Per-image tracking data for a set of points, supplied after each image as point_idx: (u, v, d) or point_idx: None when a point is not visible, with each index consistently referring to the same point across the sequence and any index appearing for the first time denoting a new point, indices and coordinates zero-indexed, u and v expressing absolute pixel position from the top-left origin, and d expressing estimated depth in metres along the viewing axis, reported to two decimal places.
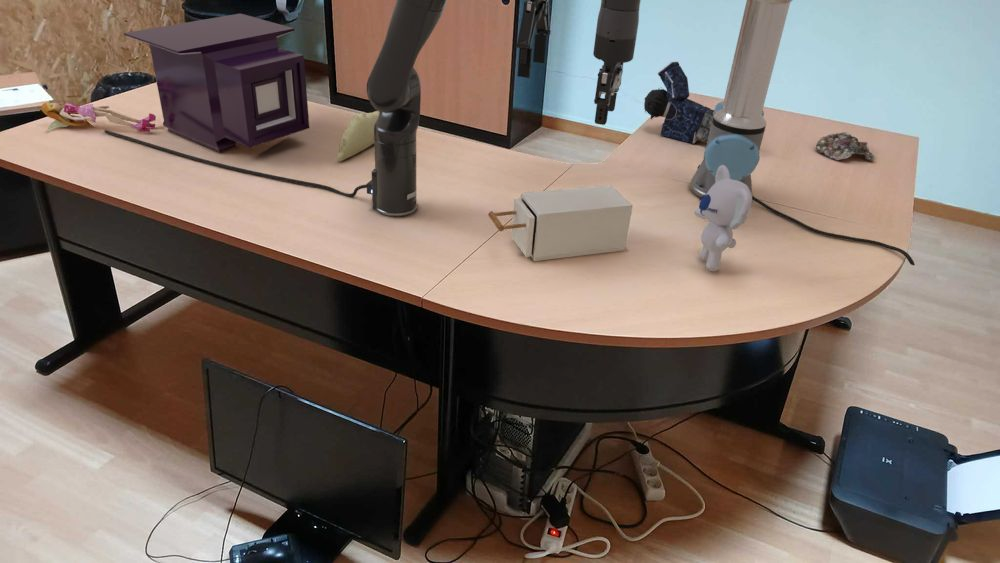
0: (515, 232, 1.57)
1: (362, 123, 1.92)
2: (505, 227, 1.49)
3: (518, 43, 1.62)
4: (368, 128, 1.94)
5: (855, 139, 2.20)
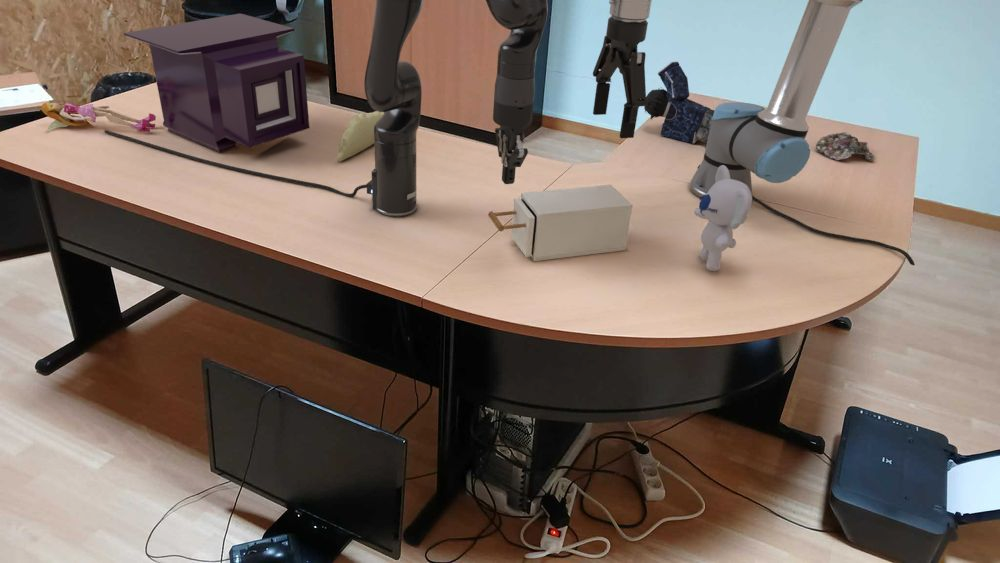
0: (515, 232, 1.57)
1: (362, 123, 1.92)
2: (505, 227, 1.49)
3: (636, 102, 1.38)
4: (368, 128, 1.94)
5: (855, 139, 2.20)
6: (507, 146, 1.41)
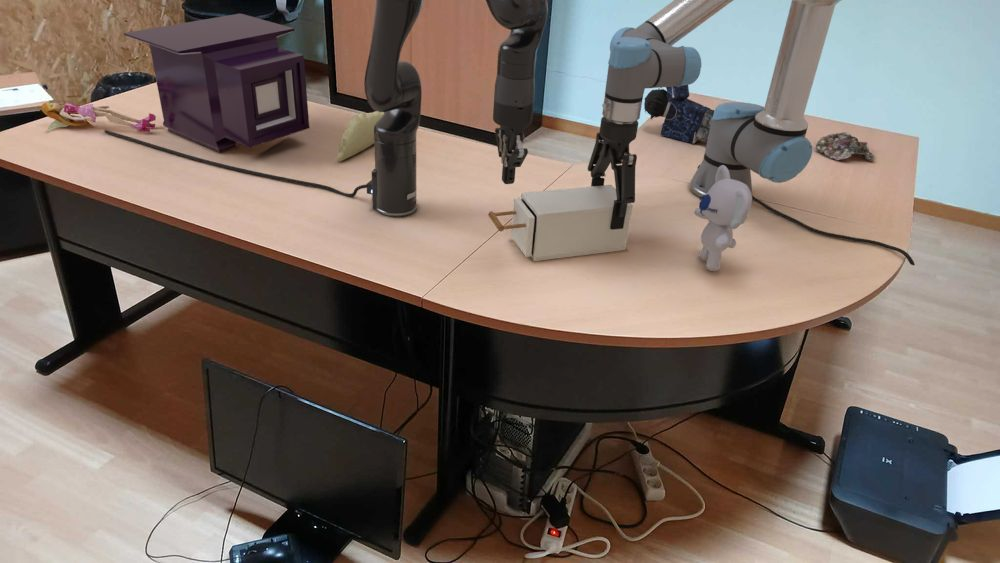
0: (515, 232, 1.57)
1: (362, 123, 1.92)
2: (505, 227, 1.49)
3: (625, 201, 1.48)
4: (368, 128, 1.94)
5: (855, 139, 2.20)
6: (507, 146, 1.41)
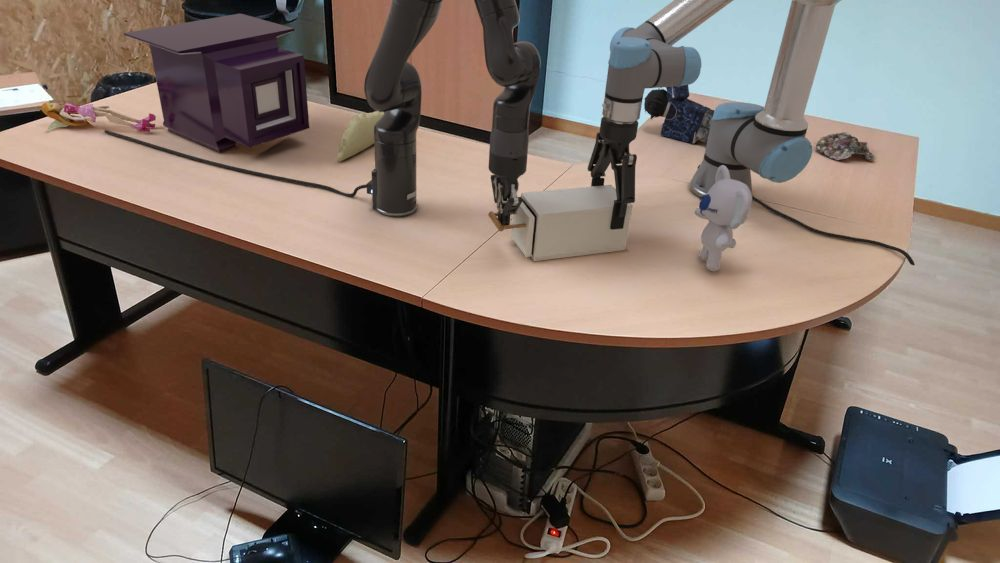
0: (515, 232, 1.57)
1: (362, 123, 1.92)
2: (505, 227, 1.49)
3: (625, 201, 1.48)
4: (368, 128, 1.94)
5: (855, 139, 2.20)
6: (502, 194, 1.46)
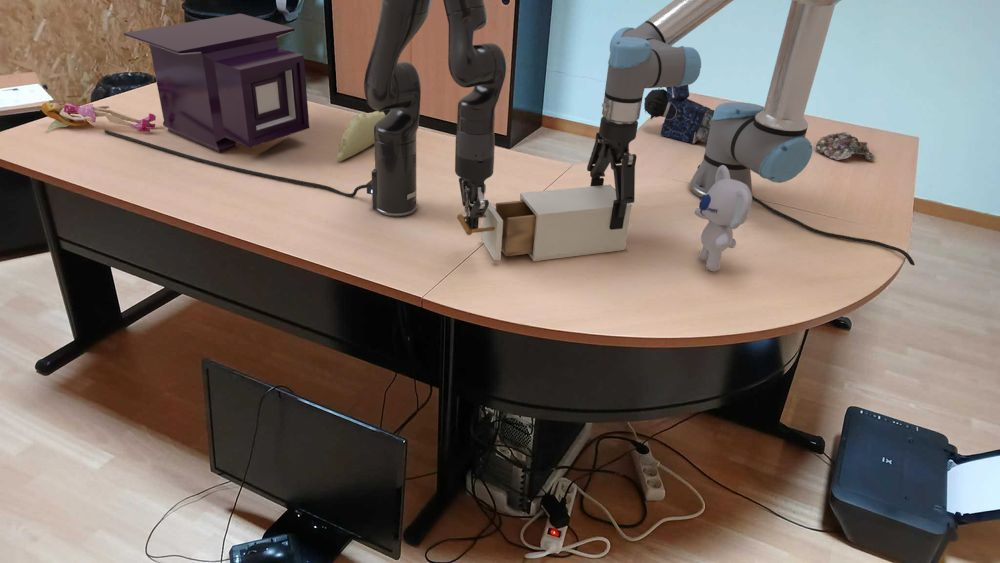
0: (484, 235, 1.55)
1: (362, 123, 1.92)
2: (473, 231, 1.46)
3: (625, 201, 1.48)
4: (368, 128, 1.94)
5: (855, 139, 2.20)
6: (469, 197, 1.44)
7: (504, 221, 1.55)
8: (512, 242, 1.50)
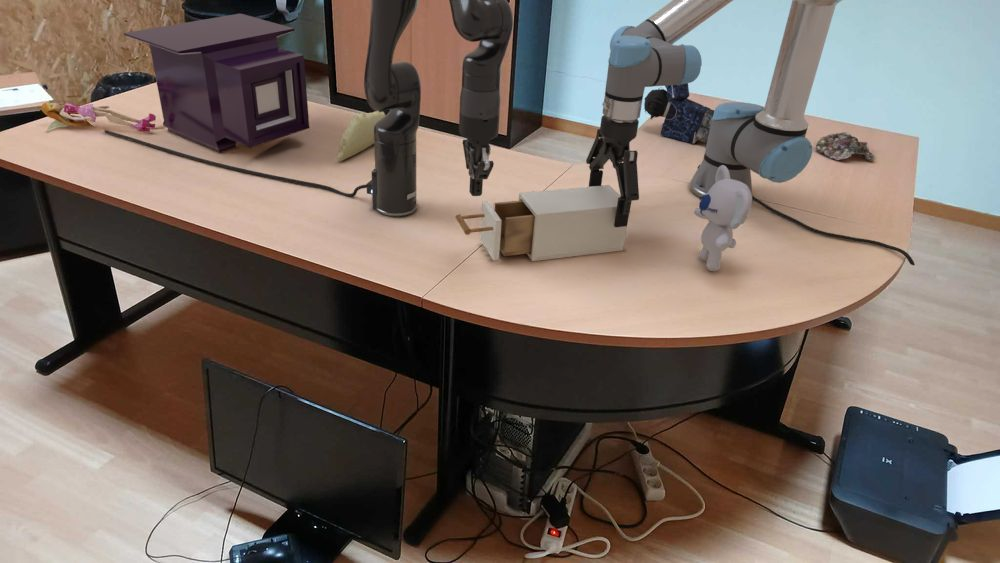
0: (483, 235, 1.55)
1: (362, 123, 1.92)
2: (472, 230, 1.46)
3: (629, 197, 1.46)
4: (368, 128, 1.94)
5: (855, 139, 2.20)
6: (474, 158, 1.40)
7: (503, 221, 1.55)
8: (511, 242, 1.50)
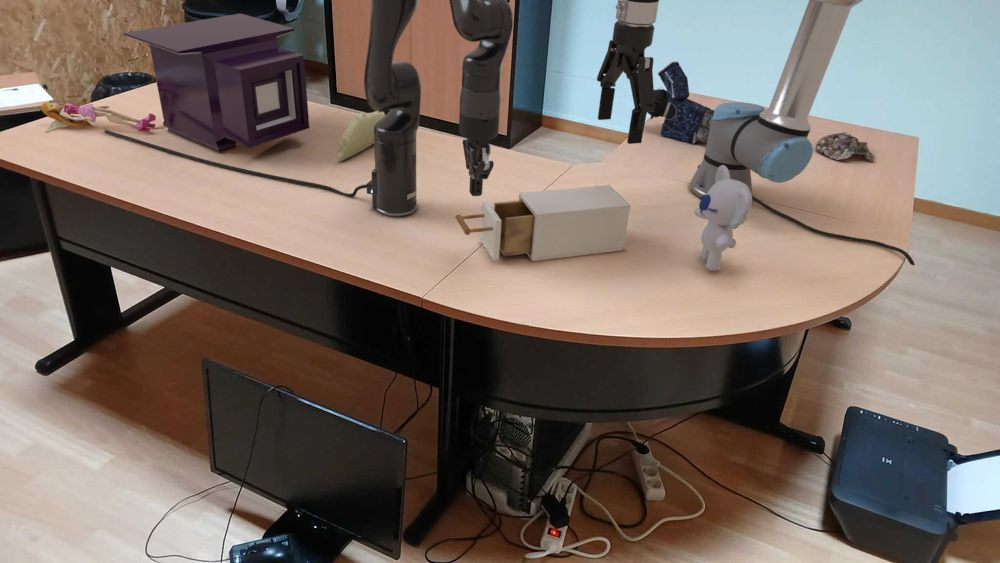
0: (483, 235, 1.55)
1: (362, 123, 1.92)
2: (471, 230, 1.46)
3: (644, 108, 1.37)
4: (368, 128, 1.94)
5: (855, 139, 2.20)
6: (474, 158, 1.40)
7: (503, 221, 1.55)
8: (511, 242, 1.50)
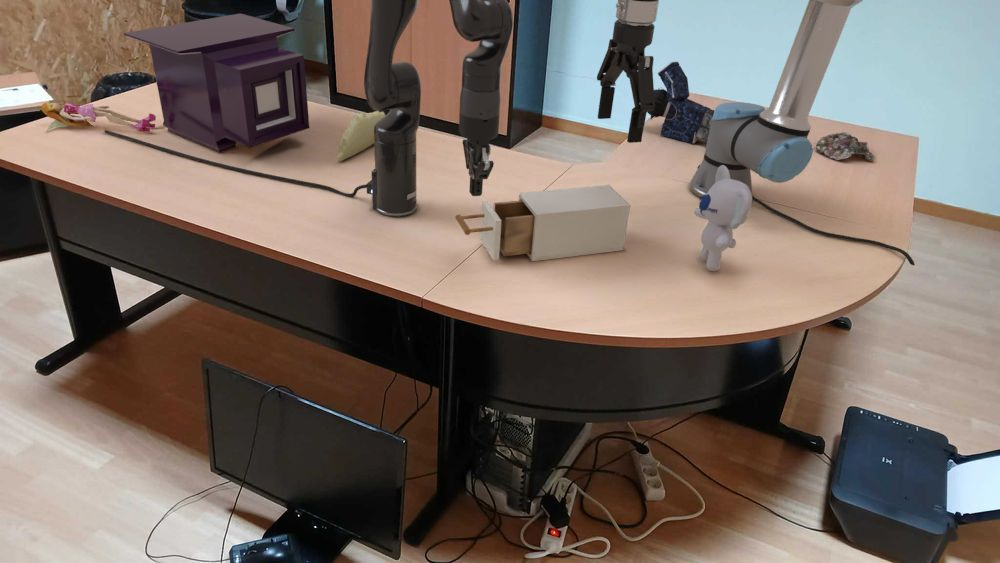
0: (483, 235, 1.55)
1: (362, 123, 1.92)
2: (471, 230, 1.46)
3: (644, 107, 1.36)
4: (368, 128, 1.94)
5: (855, 139, 2.20)
6: (474, 158, 1.40)
7: (503, 221, 1.55)
8: (511, 242, 1.50)
